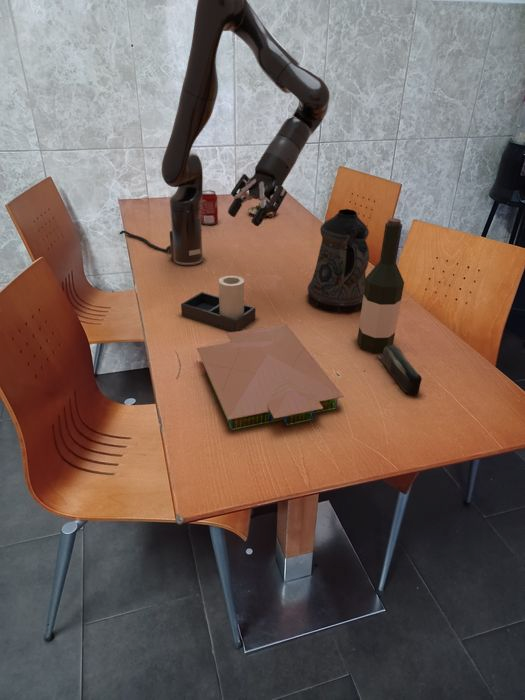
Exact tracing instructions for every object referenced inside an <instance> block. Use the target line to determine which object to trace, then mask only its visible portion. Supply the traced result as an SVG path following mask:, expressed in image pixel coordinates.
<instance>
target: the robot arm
mask: <svg viewBox="0 0 525 700" xmlns="http://www.w3.org/2000/svg"><path fill="white" fill-rule="evenodd" d="M223 32H231V33H232V34H234V35H235V36H237V37H238V38H239V39H240V40H242V41H243V42H244V43H245V44H246V45H247V47H248V48H249V50H250V51H251V52H252V54H253V56H254V59H255V60H256V63H257V64H258V66H259V68H260V69H261V71H262V72H263V74H265V76H266V77H267V78H268V79H269V81H271V82H272V83H273V84H274V85H275V86H276V87H277V88H278V89H279V90H280V91H281V92H282V93H284V94H290V93H291V94H292V95H293V96H294V97H295V98H296V99H297V100H298V105H297V107H296V109H295V111H294V112H293V114H292V115H291V116H289V117H287V118H286V119H285V120H284V121H283V123H282V124H281V126H280V127H279V129H278V131H277V133H276V134H275V136H274V138H273V139H272V140H271V142H269V144H268V145H267V147H266V149H265V151H264V152H263V154H262V155H261V157H260V158H259V160H258V162H257V164H256V166H255V167H254V174H253V176H252V177H249V176H248V175H247V174H246V173H243V174H242V175H241V177H240V178H239V180H238V181H237V183H236V184H235V186H234V187H233V189H232V190H231V191H230V195H231V196H232V197H233V198H234V199H233V200H232V203H231V204H230V206H229V208H228V210H227V213H228V215H229V216H231V217H233V218H235V217H236V216H237V214H238V213H239V211H240V209H241V208H242V206H243V204H244V203H245V202H247V201H252V200H259V201H260V203H261V208H259V209H258V210H257V212H256V214H255V215H254V214H253V217H252V219H251V221H250V222H251V223H252V224H253V225H254V226H255V227H259V226H260V225H261V224H262V223H263V221H264V220H265V219H266V218H265V216H266V215H267V214H268V213H270V212H273V213H276V214H277V213H278V210H279V208H280V207H281V205H282V203H283V201H284V199H285V198H286V196H287V194H288V191H287V189H285V187H284V186H283V184H284V183H285V181H286V180H287V178H288V176H289V175H290V173H291V171H292V170H293V168H294V167H295V165H296V163H297V160H298V158H299V156H300V155H301V152H302V151H303V150H304V148H305V146H306V144H307V143H308V141H309V139H310V137H311V136H312V135H313V133H314V132H315V131H316V130H317V129H318V127H319V126H320V124H321V123H322V122H323V120H324V118H325V117H326V115H327V112H328V109H329V102H330V98H331V93H330V89H329V87H328V85H327V84H326V82H325V81H324V80H323V79H322V78H321V77H319V76H318V75H317V74H315V73H313V72H312V71H311V70H310V69H307V68H306V67H304V66H302V65H301V64H300V63H299V62H298V61H297V60H296V58H294V56H293V55H292V54H291V53H290V52H289V51H288V50H287V49H286V48H285V47H284V46H283V45H282V44H281V43H280V42H279V41H278V40H277V39H276V37H275V36H274V35H273V34H272V33H271V32H270V30H269V29H268V28H267V27H266V25H265V24H264V23H263V21H262V20H261V19H260V17H259V16H258V15H257V13H256V12H255V10H254V9H253V7H252V6H251V4H250V3H249V1H248V0H197V2H196V9H195V16H194V24H193V31H192V39H191V46H190V51H189V54H188V59H187V65H186V70H185V75H184V78H183V81H182V85H181V90H180V96H179V101H178V105H177V110H176V114H175V117H174V121H173V126H172V130H171V134H170V136H169V140H168V143H167V146H166V148H165V151H164V154H163V158H162V161H161V168H160V169H161V177H162V179H163V181H164V183H165V184H166V185H167V186H168V187H171V188H177V189H176V191H175V192H174V193H173V195H172V196H171V197H170V198H169V210H170V211H169V213H170V223H171V225H170V226H171V230H170V231H169V243H170V244H169V245H168V246H166V248H162V247H159V246H157V245H154V244H152V243H151V242H150V241H149V240H148V239H146V238H144V237H142V236H139V235H137V234H133V233H130V232H128V231H127V230H121V231H120V232H119V235H123V234H126V235H127V236H129V237H131V238H134V239H137V240H140V241H142V242H144V243H146V244H147V245H148V246H149V247H151V248H153V249H155V250H157V251H160V252H163V253H167V252H168V255H170V257H171V258H170V259H171V261H173V262H174V263H175V264H176V265H181V266H196V265H199V264H201V263H202V262H203V261H204V256H203V255H204V254H203V236H202V235H203V234H202V233H203V232H202V223H201V210H200V202H201V199H202V194H203V191H204V189H203V187H204V186H203V185H204V177H203V175H204V173H203V172H204V171H203V165H202V161H201V158H200V157H199V155H198V154H197V153H196V152H194V151H192V148H193V145H194V144H195V141H196V140H197V138H198V137H199V136H200V134H201V133H202V132H203V130H204V128H205V127H206V126H207V124H208V123H209V121H210V119H211V117H212V115H213V112H214V108H215V106H216V101H217V97H218V93H219V78H218V77H219V76H218V72H217V71H218V70H217V54H218V49H219V45H220V41H221V38H222V35H223ZM267 216H268V215H267ZM267 216H266V217H267Z"/></svg>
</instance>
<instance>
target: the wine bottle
mask: <svg viewBox="0 0 525 700" xmlns="http://www.w3.org/2000/svg"><path fill="white" fill-rule="evenodd" d="M402 230H403V224H402V220H400V218H396V217H395V218H392V217H391V218H389V219H388V220H387V222H385V225H384V230H383V231H384V232H383V238H382V244H381V251H380V257H379V261H378V262H377V264H376V265H375V266H374V267H373V268H372V270H370V272H369V273H368V274H367V275H366V281H365V288H364V295H363V303H362V308H361V309H360V310H361V311H360V317H359V324H358V330H357V331H358V333H357V339H356V342H357V345H358V347H359V349H360V350H363V351H365V352H368V353H370V354H383V351H384V347H385V346H388V345H393V346H394V342H395V341H394V340H395V335H396V330H397V324H398V319H399V314H400V308H401V303H402V297H403V292H404V286H405V281H404V279H403V276H402V274H401V272H400V268H399V267H398V264H397V259H398V252H399V248H400V242H401V235H402Z"/></svg>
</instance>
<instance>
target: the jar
mask: <svg viewBox="0 0 525 700" xmlns="http://www.w3.org/2000/svg"><path fill="white" fill-rule="evenodd" d="M218 297H219V311H220V315H222V316H225V317H229V318H232V319H235V320H236V319H237V318H239V317H240V316H242V315H243V314H244V304H245V280H244V278H243V277H241V276H238V275H225V276H222V277H220V278H219V280H218Z"/></svg>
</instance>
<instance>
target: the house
mask: <svg viewBox="0 0 525 700" xmlns="http://www.w3.org/2000/svg"><path fill="white" fill-rule="evenodd" d="M226 335H227V336H228V338H229V340H230V342H225V343H219V344H213V345H206V346H199V347H196V351H197V353H198V355H199V357H200V359H201V362H202V364H203V367H204V369H205V371H206V373H207V377H208V380H209V382H210V384H211V387H212V389H213V391H214V393H215V396H216V398H217V400H218V402H219V404H220V407H221V410H222V412H223V415H224V417H225V418H226V421H227V423H228V425H229V428H230V429H231V431H233V430H238V429H242V428H247V427H252V426H257V425H262V424H267V423H272V422H276V421H282V420H283V421H284V422H285V424H286V425H287V426H288V425H293V424H298V423H302V422H307V421H311V420H315V413H320V412H325V411H329V410H335V409H337V405H338V399H340V398H344V397H345V396H344V394H342V392H341V391H340V389H339V388H338V387H337V386H336V384H335V383H334V382H333V381H332V380H331V378H330V377H329V376H328V375H327V373H326V372H325V371H324V370H323V368H322V367H321V366H320V365H319V363H318V362H317V361H316V360H315V358H314V357H313V355H311V353H310V352H309V351H308V349H307V348H306V347H305V346H304V344H303V343H302V342H301V340H299V339H300V338H298V337H297V335H296V334H295V333H294V331H292V329H291V328H290V327H289V326H288V324H287V323H284V324H278V325H271V326H265V327H258V328H250V329H244V330H243V329H242V330H240V331H237V332H231V331H229V332H226ZM328 401H329V402H328ZM321 402H322V403H321ZM327 404H328V409H327V406H325V408H324V405H327ZM331 404H332V408H331ZM263 414H265V415H264V417H265V418H264V422H262V419H263ZM306 414H307V416H306V419H305V416H304V415H306ZM250 416H251V417H250ZM254 416H255V417H254ZM294 416H295V417H297V416H303V418H302V419H303V420H301V417H299V418H298V419H299V420H298V421H297V418H295V421H294V422H293V418H294ZM246 417H248V418H246ZM252 417H254V419H256V423H255V424H249V425H244V426H242V421H249V420H251V419H252ZM242 418H244V419H242ZM259 418H260V422H259V423H258V419H259ZM289 418H291V421H290V423H289ZM238 419H239V420H238ZM267 419H270V421H269V420H268V421H267ZM233 420H235V421H233ZM238 422H240V423H239V424H240V425H239V426H240V427H237V425H238V424H237V423H238ZM233 423H235V428H233Z"/></svg>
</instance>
